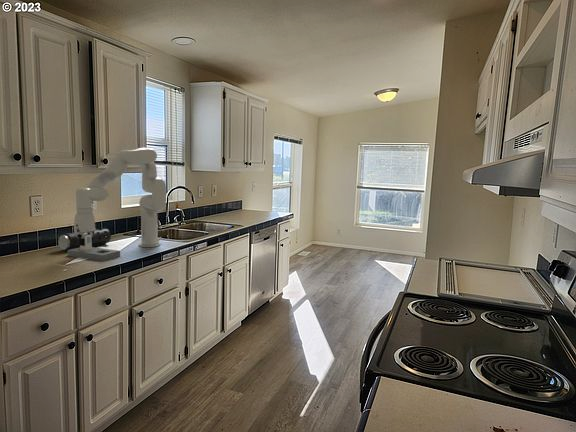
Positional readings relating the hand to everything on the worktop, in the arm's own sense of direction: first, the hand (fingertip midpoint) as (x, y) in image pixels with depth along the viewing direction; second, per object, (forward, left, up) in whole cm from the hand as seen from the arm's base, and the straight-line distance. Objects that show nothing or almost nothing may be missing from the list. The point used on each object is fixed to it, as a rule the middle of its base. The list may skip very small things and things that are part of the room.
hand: (85, 244), depth 208 cm
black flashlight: (-14, -15, -7) cm, 21 cm away
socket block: (0, +6, -6) cm, 9 cm away
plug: (0, 0, -4) cm, 4 cm away
